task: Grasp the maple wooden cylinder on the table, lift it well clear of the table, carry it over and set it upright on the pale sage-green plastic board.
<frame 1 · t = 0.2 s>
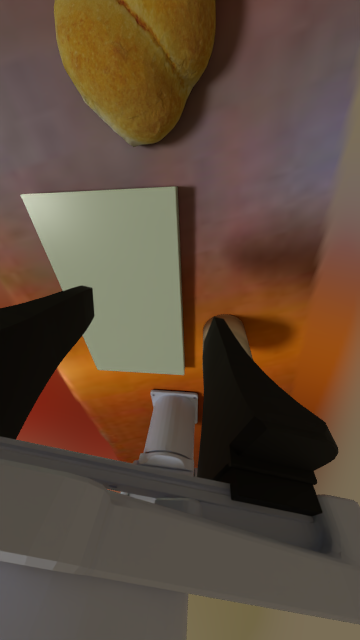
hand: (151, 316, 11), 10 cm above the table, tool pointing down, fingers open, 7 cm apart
green board: (128, 301, 23), on the table
bread roll: (141, 54, 12), on the table
maple cylinder: (223, 330, 24), on the table
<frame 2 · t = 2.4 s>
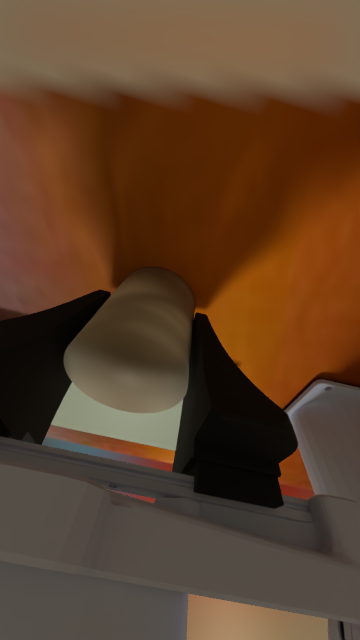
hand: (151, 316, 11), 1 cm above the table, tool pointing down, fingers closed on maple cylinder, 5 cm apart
green board: (102, 390, 19), on the table
maple cylinder: (156, 303, 13), on the table, touching gripper
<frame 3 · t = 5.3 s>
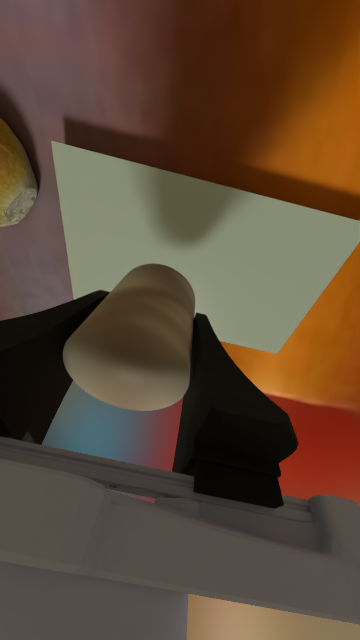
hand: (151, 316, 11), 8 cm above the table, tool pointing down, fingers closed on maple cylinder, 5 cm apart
green board: (193, 268, 18), on the table
maple cylinder: (157, 301, 12), point 7 cm above the table, touching gripper
when the fingers open (4 cm above the table, at t = 6.8 s): maple cylinder drops 1 cm, resting on green board.
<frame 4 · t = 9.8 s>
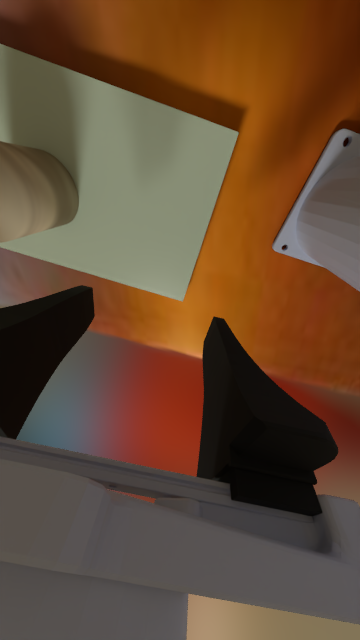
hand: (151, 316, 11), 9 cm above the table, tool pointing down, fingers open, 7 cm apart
green board: (82, 193, 16), on the table
maple cylinder: (47, 190, 15), point 2 cm above the table, touching green board
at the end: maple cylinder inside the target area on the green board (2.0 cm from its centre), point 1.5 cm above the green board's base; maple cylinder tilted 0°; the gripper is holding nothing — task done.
